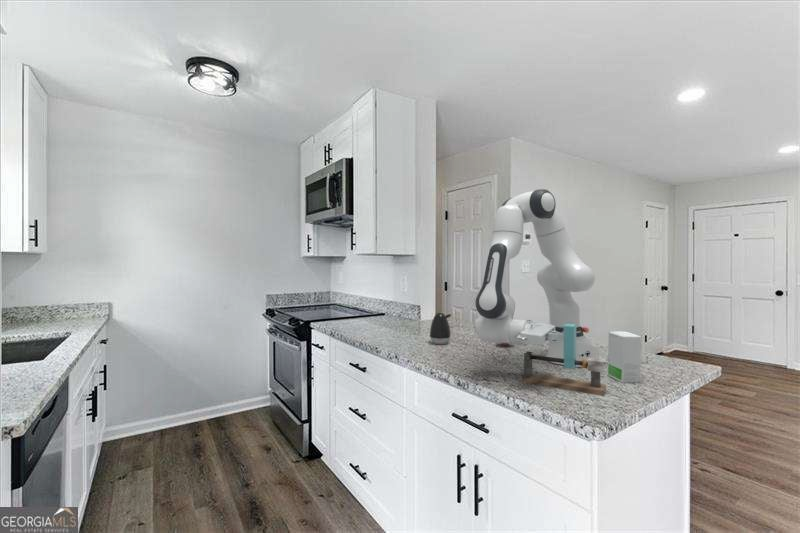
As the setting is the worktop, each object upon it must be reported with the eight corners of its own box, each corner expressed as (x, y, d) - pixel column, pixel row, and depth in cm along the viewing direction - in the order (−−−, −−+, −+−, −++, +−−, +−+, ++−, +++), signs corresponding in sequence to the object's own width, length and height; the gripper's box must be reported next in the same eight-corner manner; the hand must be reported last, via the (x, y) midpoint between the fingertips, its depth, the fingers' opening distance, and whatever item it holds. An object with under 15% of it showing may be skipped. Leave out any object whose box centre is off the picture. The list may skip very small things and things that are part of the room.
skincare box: (607, 375, 133) (606, 331, 133) (624, 374, 134) (624, 330, 133) (623, 383, 125) (622, 336, 125) (642, 382, 125) (642, 335, 125)
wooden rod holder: (522, 382, 127) (522, 353, 127) (527, 376, 133) (527, 349, 133) (603, 395, 114) (603, 363, 114) (605, 388, 120) (605, 358, 120)
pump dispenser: (452, 345, 182) (452, 314, 181) (430, 345, 182) (430, 314, 182) (449, 341, 192) (449, 311, 192) (429, 341, 192) (428, 311, 192)
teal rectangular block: (563, 368, 121) (563, 325, 120) (566, 364, 125) (566, 323, 125) (573, 370, 119) (573, 326, 119) (576, 366, 123) (576, 324, 123)
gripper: (512, 328, 122) (558, 332, 114) (529, 319, 139) (570, 322, 131) (512, 347, 122) (558, 353, 114) (529, 336, 139) (570, 340, 131)
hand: (564, 336), depth 123 cm, fingers closed, pressing on teal rectangular block
